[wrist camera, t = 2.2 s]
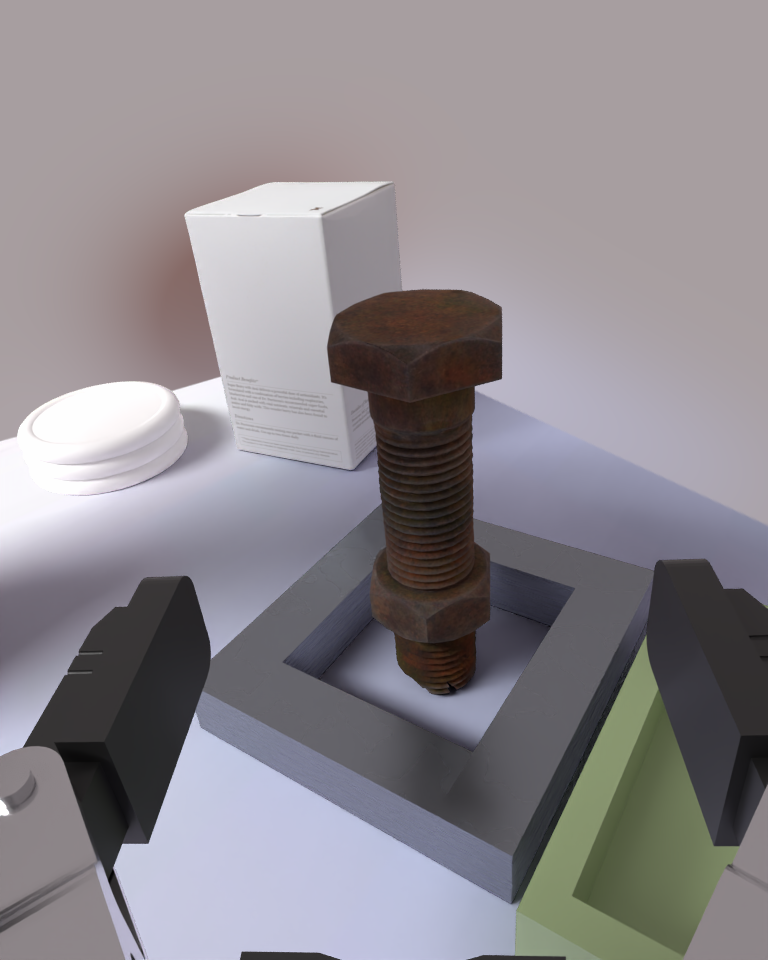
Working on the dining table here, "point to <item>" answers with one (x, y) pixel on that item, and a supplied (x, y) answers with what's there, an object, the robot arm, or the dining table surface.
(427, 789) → the square frame
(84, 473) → the white round disc
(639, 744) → the tray
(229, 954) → the dining table surface
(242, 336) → the supplement box
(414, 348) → the bolt
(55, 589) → the dining table surface
